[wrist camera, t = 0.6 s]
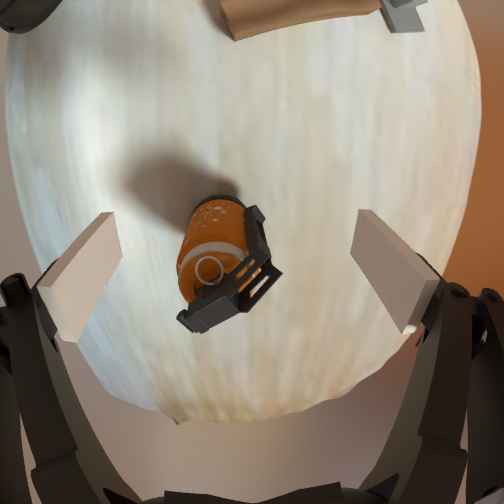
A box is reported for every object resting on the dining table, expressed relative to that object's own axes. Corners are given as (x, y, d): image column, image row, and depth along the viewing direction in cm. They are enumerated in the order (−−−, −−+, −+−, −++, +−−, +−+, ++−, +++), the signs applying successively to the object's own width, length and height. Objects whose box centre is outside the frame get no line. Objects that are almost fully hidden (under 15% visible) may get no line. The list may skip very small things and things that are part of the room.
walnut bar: (221, 13, 26) (219, 1, 21) (353, -12, 23) (367, -22, 19) (234, 42, 28) (235, 32, 24) (366, 15, 25) (382, 7, 21)
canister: (178, 216, 40) (142, 307, 22) (240, 173, 37) (248, 240, 20) (215, 259, 44) (208, 361, 26) (275, 221, 41) (305, 314, 24)
